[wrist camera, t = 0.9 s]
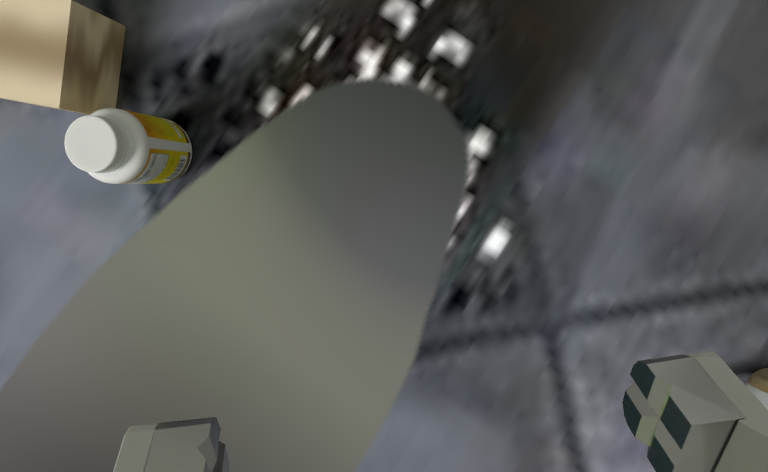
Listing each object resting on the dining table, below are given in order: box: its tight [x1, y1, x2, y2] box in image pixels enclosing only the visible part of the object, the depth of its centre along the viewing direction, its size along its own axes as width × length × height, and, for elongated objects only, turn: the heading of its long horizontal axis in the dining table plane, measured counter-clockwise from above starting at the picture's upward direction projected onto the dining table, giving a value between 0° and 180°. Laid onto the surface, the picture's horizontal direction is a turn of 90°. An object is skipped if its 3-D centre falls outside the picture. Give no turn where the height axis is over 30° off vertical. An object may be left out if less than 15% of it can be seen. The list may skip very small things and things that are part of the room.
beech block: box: [0, 0, 126, 115], centre depth 45 cm, size 8×8×7 cm
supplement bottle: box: [65, 108, 192, 184], centre depth 44 cm, size 6×6×10 cm
